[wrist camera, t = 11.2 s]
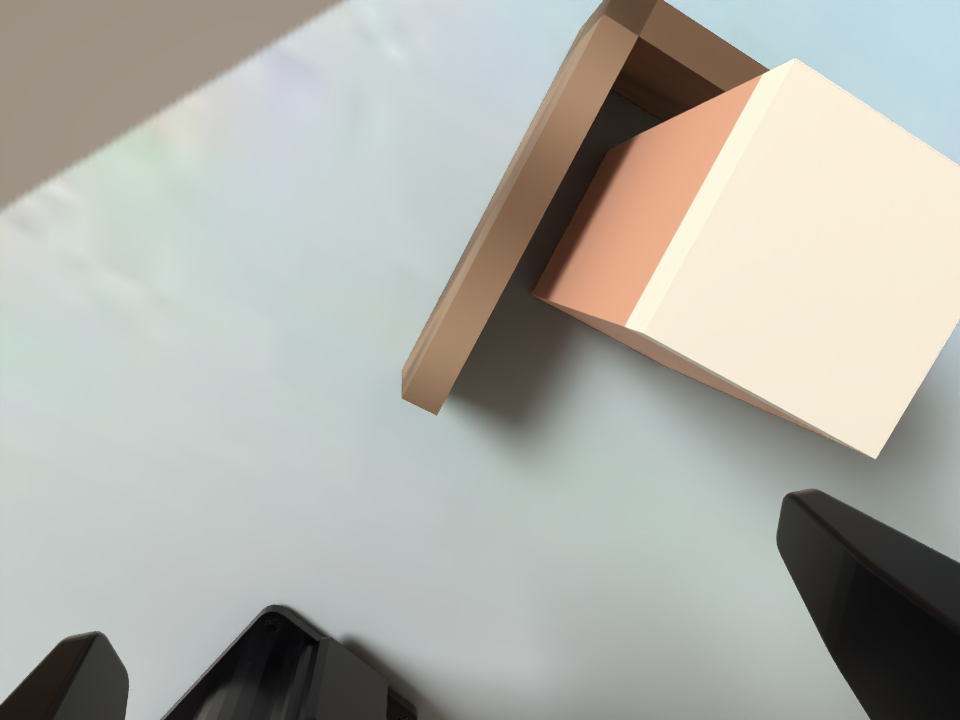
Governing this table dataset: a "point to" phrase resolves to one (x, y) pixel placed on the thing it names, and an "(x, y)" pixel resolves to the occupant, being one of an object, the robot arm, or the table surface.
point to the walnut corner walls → (568, 160)
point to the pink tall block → (774, 253)
